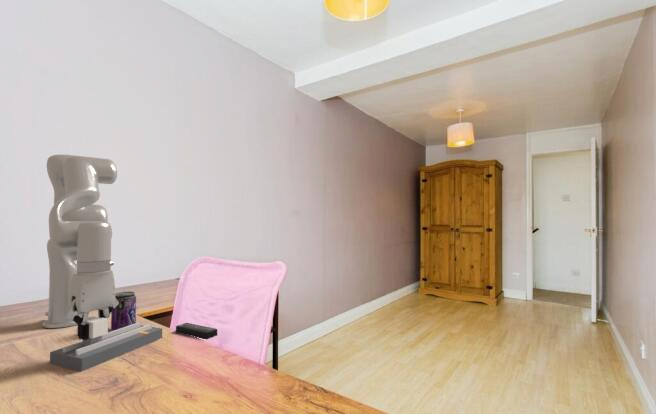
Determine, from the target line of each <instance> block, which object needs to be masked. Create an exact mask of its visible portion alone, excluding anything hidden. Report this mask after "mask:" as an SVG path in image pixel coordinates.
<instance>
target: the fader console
mask: <svg viewBox="0 0 656 414" xmlns="http://www.w3.org/2000/svg"><path fill="white" fill-rule="evenodd" d="M160 338H161V339H163V328H161V327H155V326H153V325H152V324H151V323H150V324H146V325H142V324H141V322H136V323H135V324H132V325H129V326H126V327H123V328H120V329H117V330H114V331H113V330H111V331H108V334H105V335H102V341H100V342H97V343H94V344H91V345H88V346H86V347H82V346H83V340H81V341H79V342H75V343H72V344H69V345H67V346H63V347H61V348H58V349H55V350H52V351H50V352H49V365H53V366H57V367H61V368H66V369H70V370H75V371H78V372H79V371H80V372H84V371H85V370H89V369H91V368H94V367H96V366H98V365H100V364H102V363H105V362H107V361H110V360H112V359H114V358H118V357H120V356H123V355H124V354H127V353H129V352H132V351H134V350H138V349H139V348H142V347H144V346H146V345H150V344H152V343H154V342H157V341H159V340H161V339H160ZM158 339H159V340H158ZM156 340H157V341H156Z"/></svg>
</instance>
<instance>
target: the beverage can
mask: <svg viewBox="0 0 656 414" xmlns="http://www.w3.org/2000/svg"><path fill="white" fill-rule="evenodd" d="M135 293H136V292H135V291H121V292H115V298H116V299H117V300H118V302H119V304H118V305H117V306H116V307H115V308H114V309H113V311H112V312H111V313H110V330H111V331H114V330H117V329H120V328H123V327H126V326H129V325H132V324H135V323H137V296H136V295H135Z"/></svg>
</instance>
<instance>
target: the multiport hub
mask: <svg viewBox="0 0 656 414" xmlns="http://www.w3.org/2000/svg"><path fill="white" fill-rule="evenodd" d="M177 332H178V334H181V333H182V334H181V335H186V336H190V337H195V338H200V339H204V340H209V339H211V338H214V337H216V336H217V337H218V328H216V327H215V328H214V327H210V326H209V327H208V326H204V325H199V324H194V323H190V322H185V323H182V324H177V325H176V326H175V333H177Z"/></svg>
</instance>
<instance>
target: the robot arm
mask: <svg viewBox="0 0 656 414" xmlns="http://www.w3.org/2000/svg"><path fill="white" fill-rule="evenodd" d="M46 171H47V176H48V179H49V181H50V183H51V185H52V188H53V206H52V207H51V209H50V212H49V215H48V231H49V239H48V240H47V244H46V253H47V257H48V266H49V279H48V280H49V284H48V285H49V287H48V310H47V311H46V312H45V314H44V315H45V316H47V320H45V321H43V322H42V324H41V326H42V328H46V329H58V328H59V329H60V328H61V329H62V328H67V327H72V326H76V325H77V324H78V336H77V338H78V339H79V340H82V341H83V340H87V339H89V324H87V320H88V317H89V316H90V315H89V314H90V312H93V311H97V313H98V314H97V317H101V318H108V319H109V318H110V317H111V312H112V311H113V309H114V308H115V307H116V306H117V305H118V304H119V302H118V300H117V299H116V298H115V293H116V285H115V283H116V282H115V276H114V272H113V270H112V269H111V267H112V266H114V265H115V262H114V260H111V259H112V237H113V228H112V225H111V224H110V223H109V219H108V212H107V209H106V207H105V206H103V205H101V204H95V203H97V202H98V201H99V199H100V196H101V193H100V187H99V185H101V184H103V185H112V184H114V183H116V181H117V178H118V169H117V166H116V164H115V162H114V161H113V160H112V159H109V158H103V157H102V158H100V157H91V156H80V155H71V154H53V155H50V156H49V157H48V158H47V159H46Z"/></svg>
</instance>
